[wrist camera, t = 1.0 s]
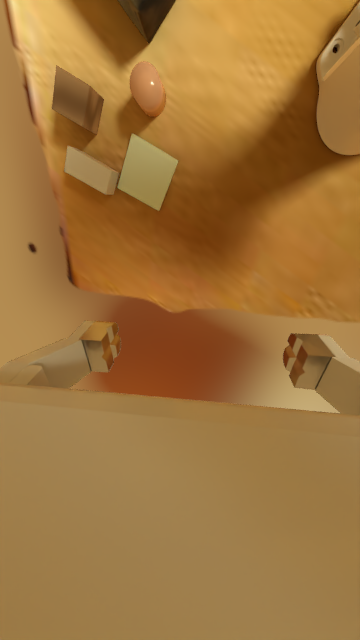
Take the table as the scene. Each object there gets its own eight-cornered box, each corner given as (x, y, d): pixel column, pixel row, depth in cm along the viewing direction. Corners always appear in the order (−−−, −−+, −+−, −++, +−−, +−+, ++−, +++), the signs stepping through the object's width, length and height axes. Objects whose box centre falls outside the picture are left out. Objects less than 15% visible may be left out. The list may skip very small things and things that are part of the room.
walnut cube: (75, 81, 34) (56, 65, 30) (104, 99, 35) (89, 85, 30) (70, 119, 36) (52, 108, 32) (97, 135, 37) (82, 126, 33)
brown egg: (145, 72, 32) (135, 53, 28) (170, 89, 33) (164, 73, 29) (135, 107, 35) (125, 95, 30) (159, 122, 35) (153, 112, 31)
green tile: (133, 133, 36) (132, 132, 36) (178, 161, 38) (178, 160, 37) (118, 188, 41) (117, 187, 40) (159, 210, 42) (158, 211, 42)
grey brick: (75, 173, 41) (63, 171, 37) (80, 149, 39) (67, 145, 35) (113, 194, 42) (105, 194, 38) (120, 173, 40) (111, 170, 36)
